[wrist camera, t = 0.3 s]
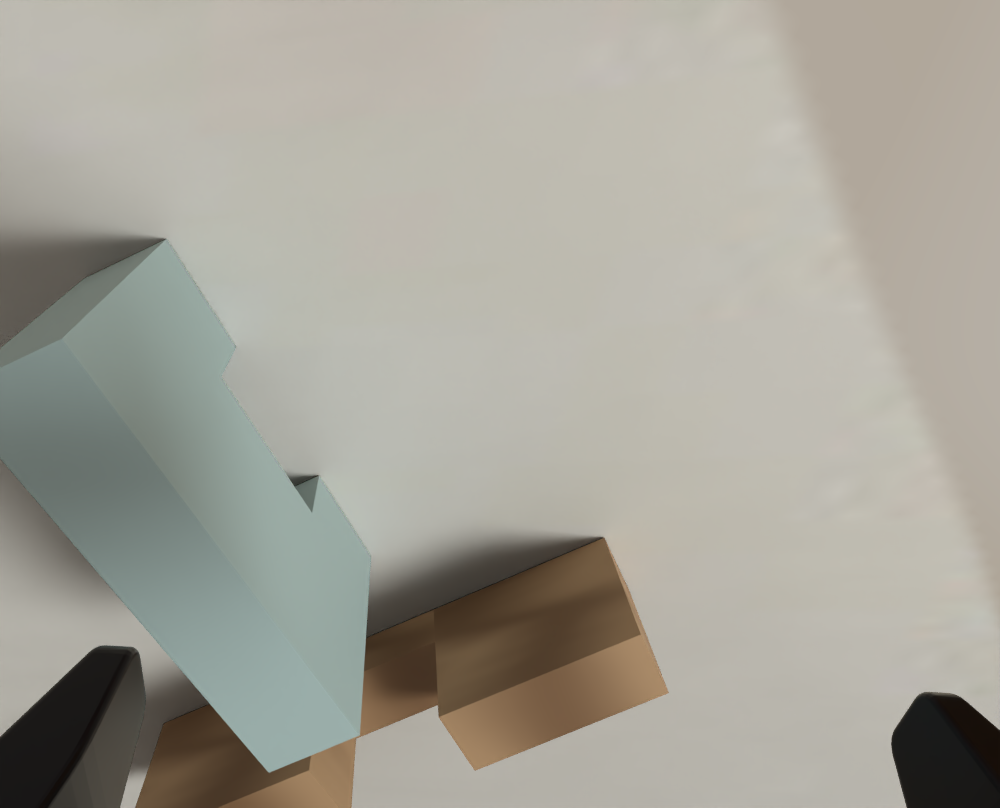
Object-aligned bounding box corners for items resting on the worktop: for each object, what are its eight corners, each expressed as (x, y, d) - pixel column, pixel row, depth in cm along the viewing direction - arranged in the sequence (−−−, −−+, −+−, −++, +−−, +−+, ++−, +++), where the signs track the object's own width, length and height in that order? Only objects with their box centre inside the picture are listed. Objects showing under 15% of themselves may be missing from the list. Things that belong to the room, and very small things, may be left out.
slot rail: (203, 767, 28) (170, 892, 24) (164, 723, 27) (121, 846, 23) (629, 591, 27) (668, 692, 23) (604, 537, 26) (640, 634, 22)
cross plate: (302, 585, 26) (268, 772, 19) (83, 278, 21) (-56, 394, 15) (371, 556, 25) (359, 735, 19) (166, 239, 21) (61, 338, 14)
